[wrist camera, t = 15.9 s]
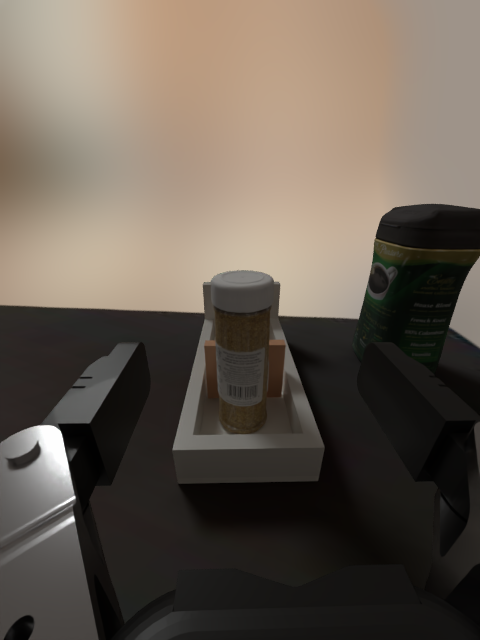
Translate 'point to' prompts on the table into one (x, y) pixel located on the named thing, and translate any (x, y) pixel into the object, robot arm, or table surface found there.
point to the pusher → (275, 368)
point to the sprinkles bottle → (242, 347)
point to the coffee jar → (417, 278)
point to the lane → (254, 448)
